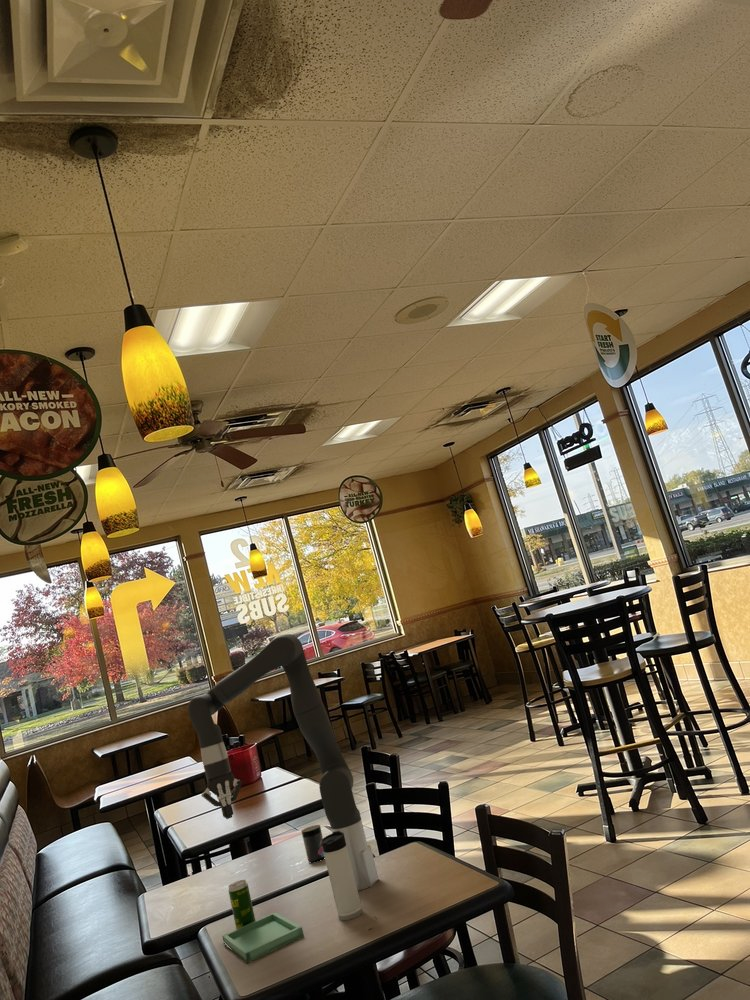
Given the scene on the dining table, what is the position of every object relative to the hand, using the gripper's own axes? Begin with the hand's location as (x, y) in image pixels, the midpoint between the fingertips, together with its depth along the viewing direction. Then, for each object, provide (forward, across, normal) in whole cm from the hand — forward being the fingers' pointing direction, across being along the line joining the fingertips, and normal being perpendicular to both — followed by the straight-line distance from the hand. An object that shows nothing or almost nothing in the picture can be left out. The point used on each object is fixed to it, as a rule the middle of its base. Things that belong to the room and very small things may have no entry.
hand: (228, 818), depth 218 cm
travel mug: (+28, -14, +39) cm, 50 cm away
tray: (+27, +7, +28) cm, 39 cm away
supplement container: (+27, -33, -22) cm, 48 cm away
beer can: (+27, +6, +14) cm, 31 cm away
